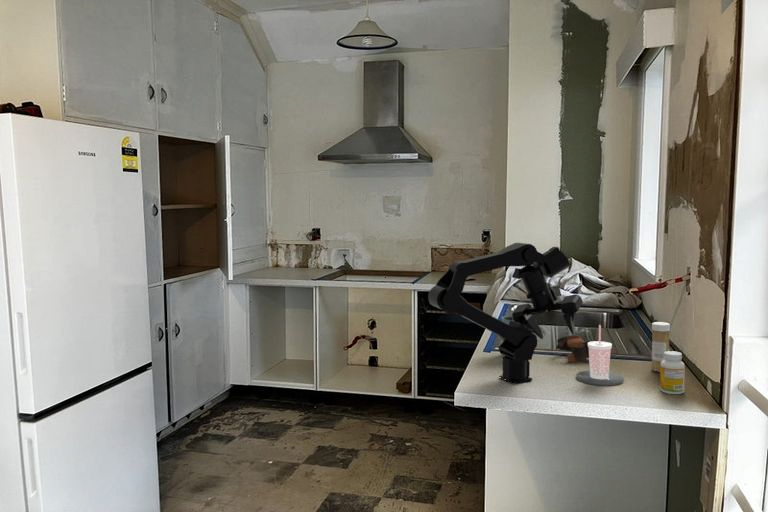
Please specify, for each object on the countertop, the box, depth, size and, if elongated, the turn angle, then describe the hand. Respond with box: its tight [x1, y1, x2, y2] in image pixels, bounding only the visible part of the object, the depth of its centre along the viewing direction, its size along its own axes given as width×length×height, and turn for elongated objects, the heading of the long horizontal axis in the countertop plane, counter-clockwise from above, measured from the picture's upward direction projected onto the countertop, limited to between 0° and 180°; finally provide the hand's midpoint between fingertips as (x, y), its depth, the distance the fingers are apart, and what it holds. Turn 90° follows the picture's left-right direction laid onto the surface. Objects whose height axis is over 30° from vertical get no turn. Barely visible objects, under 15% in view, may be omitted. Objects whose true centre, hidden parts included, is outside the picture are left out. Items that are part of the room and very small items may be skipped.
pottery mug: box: [555, 334, 595, 363], centre depth 181 cm, size 12×10×8 cm
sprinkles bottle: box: [651, 321, 671, 373], centre depth 166 cm, size 5×5×13 cm
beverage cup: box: [588, 324, 613, 379], centre depth 159 cm, size 6×6×14 cm
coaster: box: [575, 369, 625, 387], centre depth 160 cm, size 12×12×1 cm
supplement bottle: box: [659, 350, 686, 395], centre depth 148 cm, size 5×5×10 cm
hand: (557, 335), depth 163 cm, fingers open, 9 cm apart
